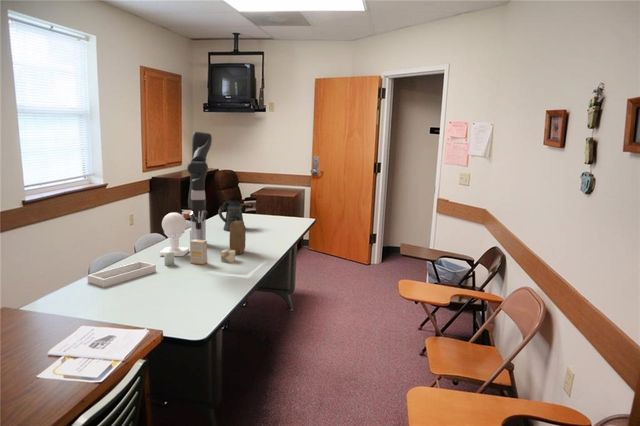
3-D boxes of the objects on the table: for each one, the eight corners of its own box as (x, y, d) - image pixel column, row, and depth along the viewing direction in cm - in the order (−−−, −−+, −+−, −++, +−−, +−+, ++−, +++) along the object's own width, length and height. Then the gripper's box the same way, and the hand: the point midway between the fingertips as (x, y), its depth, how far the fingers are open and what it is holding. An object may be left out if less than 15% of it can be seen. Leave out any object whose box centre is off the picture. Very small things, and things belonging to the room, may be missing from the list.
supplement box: (207, 263, 232) (207, 240, 230) (202, 265, 228) (202, 242, 226) (195, 261, 235) (194, 238, 233) (190, 263, 231) (189, 240, 228)
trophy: (166, 250, 256) (165, 210, 252) (189, 250, 257) (188, 211, 253) (159, 256, 242) (158, 214, 238) (183, 256, 243) (182, 214, 239)
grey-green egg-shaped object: (162, 264, 226) (162, 252, 225) (169, 262, 230) (169, 250, 229) (169, 266, 224) (168, 253, 223) (176, 264, 228) (176, 251, 227)
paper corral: (87, 282, 195) (87, 275, 194) (140, 267, 220) (140, 261, 219) (103, 287, 189) (103, 279, 188) (155, 271, 214) (155, 264, 214)
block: (239, 255, 250) (239, 223, 247) (228, 254, 252) (228, 222, 249) (247, 251, 260) (247, 220, 257) (236, 250, 262) (236, 219, 259)
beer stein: (249, 231, 317) (250, 199, 313) (231, 236, 301) (231, 202, 297) (234, 228, 326) (234, 197, 322) (215, 232, 310) (215, 199, 306)
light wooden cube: (221, 261, 236) (221, 251, 235) (225, 259, 242) (225, 249, 241) (230, 262, 235) (230, 252, 234) (235, 260, 240) (235, 250, 239)
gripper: (201, 196, 233) (202, 226, 236) (183, 198, 221) (184, 230, 224) (211, 197, 230) (212, 228, 232) (194, 200, 218) (194, 232, 221)
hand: (198, 229), depth 228 cm, fingers closed
